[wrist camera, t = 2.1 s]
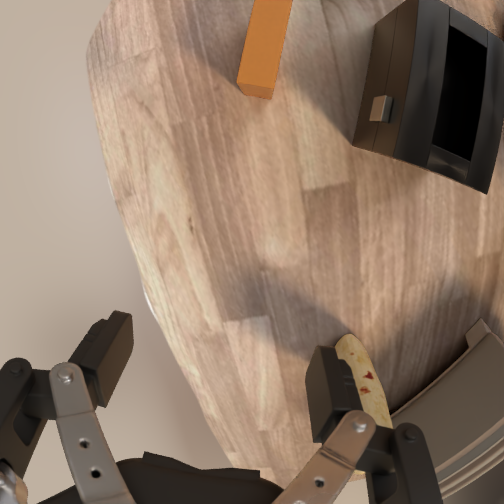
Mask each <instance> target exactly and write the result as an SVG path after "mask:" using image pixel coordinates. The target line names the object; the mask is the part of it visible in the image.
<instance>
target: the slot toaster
mask: <svg viewBox="0 0 504 504" xmlns="http://www.w3.org/2000/svg"><path fill="white" fill-rule="evenodd" d="M503 120H504V42H503V41H502V40H501V39H499V38H498V37H497V36H495V35H494V34H492V33H491V32H490V31H488V30H487V29H485V28H484V27H482V26H481V25H479V24H478V23H476V22H475V21H473V20H472V19H470V18H468V17H467V16H465V15H463V14H462V13H460V12H458V11H457V10H455V9H453V8H452V7H450V6H448V5H446V4H445V3H443V2H441V1H439V0H406V1H404V2H403V3H402V4H400V5H399V6H398V7H397V8H395V9H394V10H393V11H391V12H390V13H389V14H388V15H386V16H385V17H384V18H383V19H381V20H380V21H379V22H378V23H376V24H375V30H374V37H373V43H372V49H371V55H370V61H369V66H368V72H367V77H366V83H365V88H364V93H363V98H362V103H361V108H360V112H359V117H358V122H357V126H356V131H355V135H354V140H353V144H352V146H355V147H358V148H362V149H365V150H368V151H371V152H375V153H378V154H381V155H384V156H387V157H390V158H393V159H396V160H399V161H402V162H405V163H408V164H411V165H414V166H416V167H419V168H422V169H425V170H427V171H430V172H433V173H435V174H438V175H441V176H443V177H446V178H448V179H451V180H453V181H456V182H458V183H461V184H463V185H466V186H468V187H470V188H473V189H475V190H477V191H480V192H482V193H484V194H486V195H487V193H488V189H489V186H490V182H491V178H492V174H493V170H494V166H495V162H496V157H497V153H498V148H499V143H500V138H501V132H502V126H503Z"/></svg>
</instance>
